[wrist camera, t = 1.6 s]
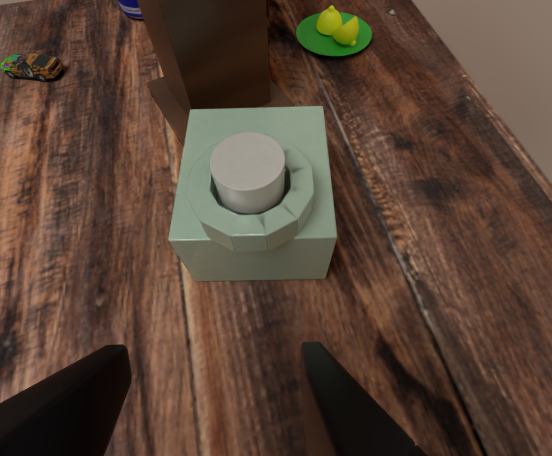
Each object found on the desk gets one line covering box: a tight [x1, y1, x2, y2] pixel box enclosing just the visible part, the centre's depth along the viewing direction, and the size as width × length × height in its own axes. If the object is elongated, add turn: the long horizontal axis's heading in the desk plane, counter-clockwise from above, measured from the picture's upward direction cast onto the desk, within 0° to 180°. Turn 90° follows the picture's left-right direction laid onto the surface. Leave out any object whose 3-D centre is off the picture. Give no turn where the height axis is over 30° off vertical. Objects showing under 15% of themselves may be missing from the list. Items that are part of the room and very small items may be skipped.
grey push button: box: [210, 132, 285, 214], centre depth 17 cm, size 4×4×2 cm
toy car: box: [1, 52, 64, 82], centre depth 34 cm, size 3×6×2 cm, turn 80°
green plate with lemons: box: [296, 6, 372, 56], centre depth 35 cm, size 8×8×3 cm
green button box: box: [168, 106, 337, 281], centre depth 22 cm, size 11×9×8 cm
